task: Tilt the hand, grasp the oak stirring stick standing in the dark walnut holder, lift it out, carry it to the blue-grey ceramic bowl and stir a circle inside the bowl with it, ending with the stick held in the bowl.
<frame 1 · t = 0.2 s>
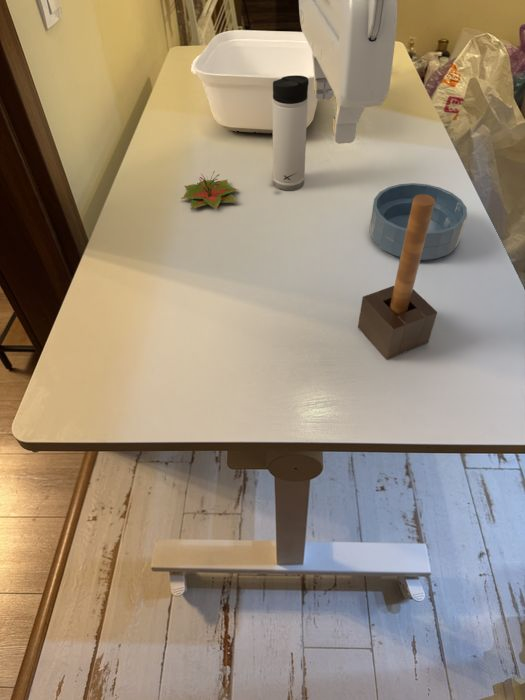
hand: (332, 117, 49), 33 cm above the table, tool pointing down, fingers open, 8 cm apart
holder: (392, 334, 75), on the table
bowl: (412, 236, 91), on the table
travel mug: (289, 184, 104), on the table
lily flower: (210, 197, 101), on the table
hamburger: (356, 75, 142), on the table
white plastic tub: (268, 120, 124), on the table
stirring stick: (406, 275, 67), in the holder
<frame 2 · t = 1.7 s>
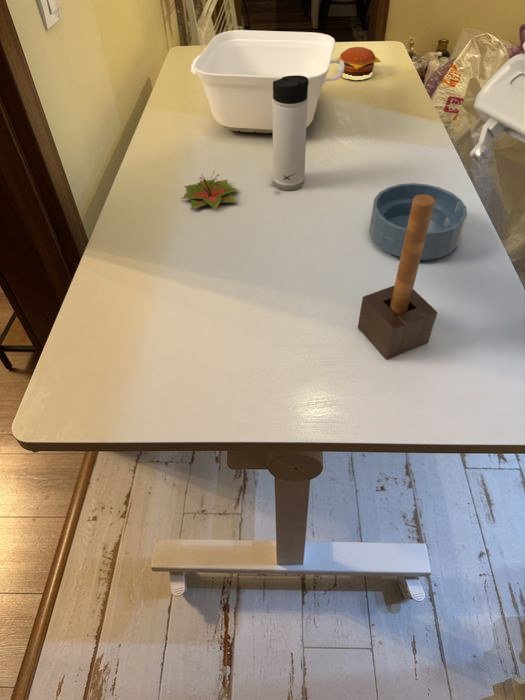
hand: (502, 176, 62), 22 cm above the table, tool tilted 45°, fingers open, 8 cm apart
nothing on the table moved.
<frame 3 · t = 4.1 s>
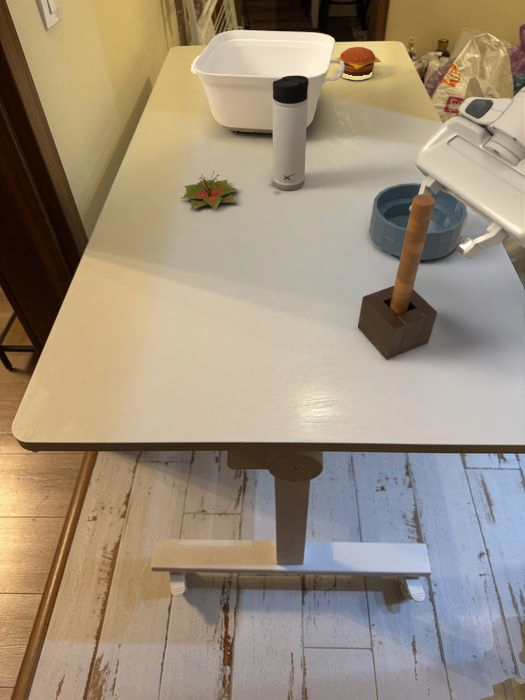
hand: (437, 233, 64), 16 cm above the table, tool tilted 45°, fingers open, 8 cm apart
nothing on the table moved.
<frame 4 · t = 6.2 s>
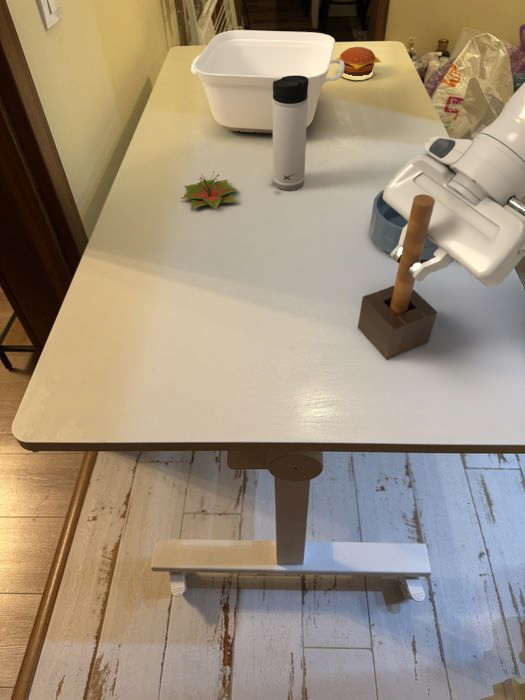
hand: (404, 268, 66), 12 cm above the table, tool tilted 45°, fingers closed on stirring stick, 2 cm apart
stirring stick: (406, 275, 67), in the holder, touching gripper
everything else where it was.
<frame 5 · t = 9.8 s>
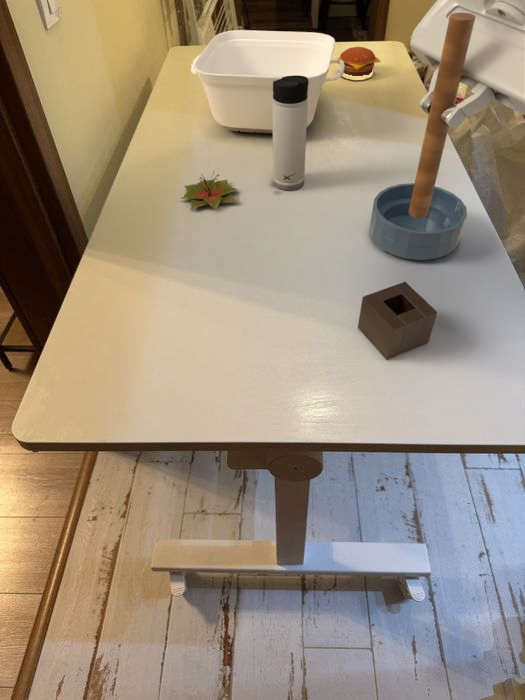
hand: (435, 117, 57), 29 cm above the table, tool tilted 45°, fingers closed on stirring stick, 2 cm apart
stirring stick: (437, 128, 58), point 28 cm above the table, touching gripper
everything else where it was.
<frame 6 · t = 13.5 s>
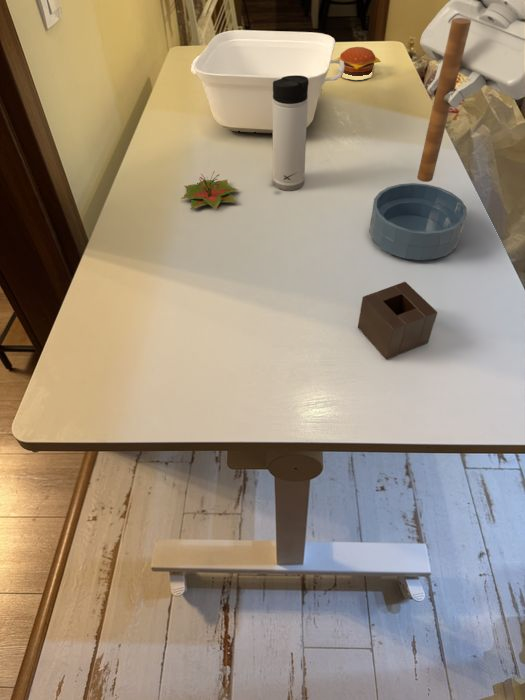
hand: (439, 99, 74), 23 cm above the table, tool tilted 45°, fingers closed on stirring stick, 2 cm apart
stirring stick: (441, 107, 75), point 22 cm above the table, touching gripper
everything else where it was.
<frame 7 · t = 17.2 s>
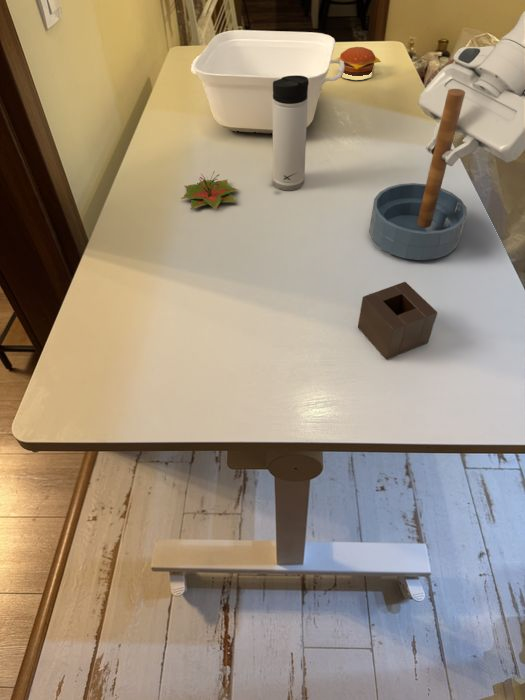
hand: (437, 157, 81), 14 cm above the table, tool tilted 45°, fingers closed on stirring stick, 2 cm apart
stirring stick: (438, 164, 82), point 13 cm above the table, touching gripper
everything else where it was.
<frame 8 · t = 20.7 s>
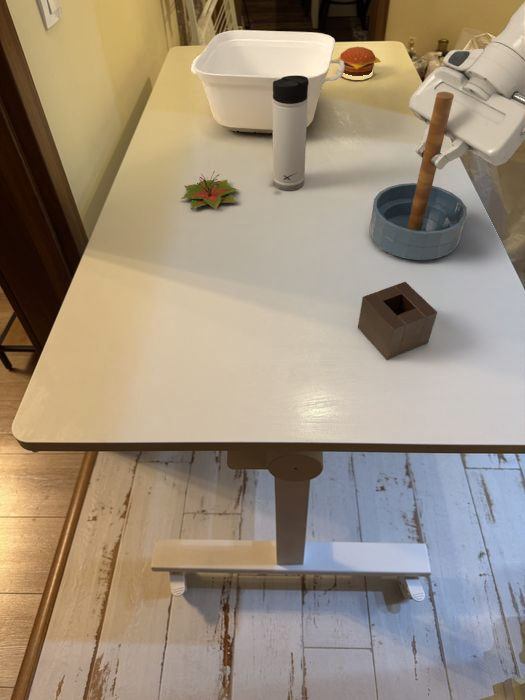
hand: (427, 160, 80), 14 cm above the table, tool tilted 45°, fingers closed on stirring stick, 2 cm apart
stirring stick: (428, 167, 81), point 13 cm above the table, touching gripper
everything else where it was.
at the end: the gripper is holding stirring stick; stirring stick inside the target area in the bowl (0.0 cm from its centre), point 13.0 cm above the bowl's base; stirring stick moved 25.1 cm from its start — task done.
